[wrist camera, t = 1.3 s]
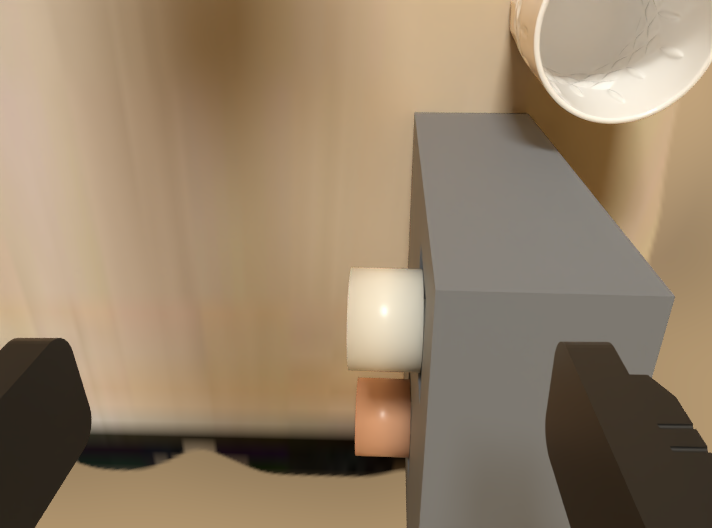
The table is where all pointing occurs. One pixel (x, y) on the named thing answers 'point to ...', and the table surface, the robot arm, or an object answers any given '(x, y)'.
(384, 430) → the terracotta button
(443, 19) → the table surface
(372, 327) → the cream button
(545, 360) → the button console
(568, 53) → the white cup
